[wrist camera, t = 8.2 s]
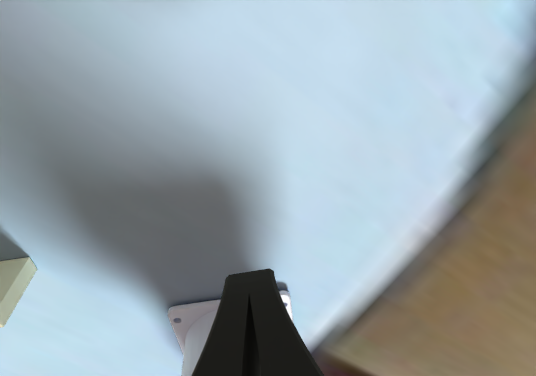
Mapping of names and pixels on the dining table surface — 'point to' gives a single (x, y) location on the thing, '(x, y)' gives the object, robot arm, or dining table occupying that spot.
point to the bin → (13, 284)
